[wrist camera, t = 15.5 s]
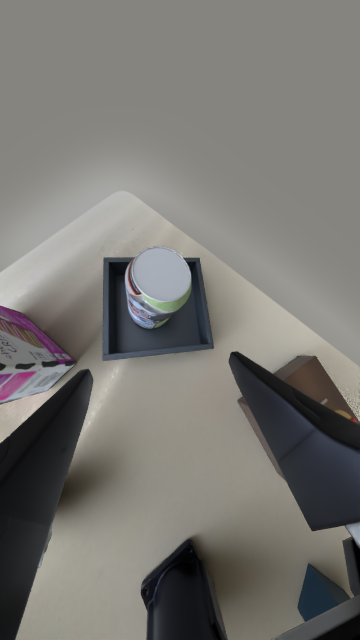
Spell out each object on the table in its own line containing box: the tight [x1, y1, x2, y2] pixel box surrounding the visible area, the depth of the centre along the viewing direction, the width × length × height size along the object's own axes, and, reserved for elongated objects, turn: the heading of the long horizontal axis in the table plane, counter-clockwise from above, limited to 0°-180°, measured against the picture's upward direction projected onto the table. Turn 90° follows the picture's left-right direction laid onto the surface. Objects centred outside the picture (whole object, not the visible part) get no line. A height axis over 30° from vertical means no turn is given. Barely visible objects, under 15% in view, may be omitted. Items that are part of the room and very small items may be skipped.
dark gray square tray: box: [103, 258, 214, 361], centre depth 22 cm, size 14×14×4 cm
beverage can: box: [125, 246, 191, 329], centre depth 17 cm, size 6×7×12 cm
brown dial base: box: [238, 356, 360, 481], centre depth 22 cm, size 14×11×3 cm
